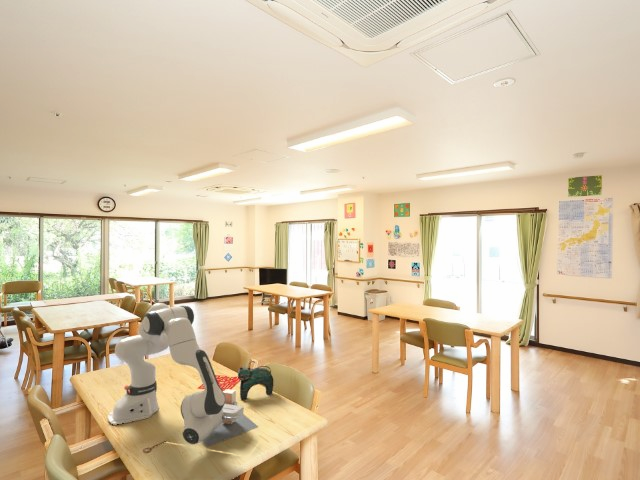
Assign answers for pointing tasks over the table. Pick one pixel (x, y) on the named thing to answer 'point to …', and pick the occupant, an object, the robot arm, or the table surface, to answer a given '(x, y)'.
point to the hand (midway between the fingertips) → (229, 402)
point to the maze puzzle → (225, 383)
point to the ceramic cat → (254, 379)
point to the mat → (229, 430)
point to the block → (229, 400)
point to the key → (153, 447)
